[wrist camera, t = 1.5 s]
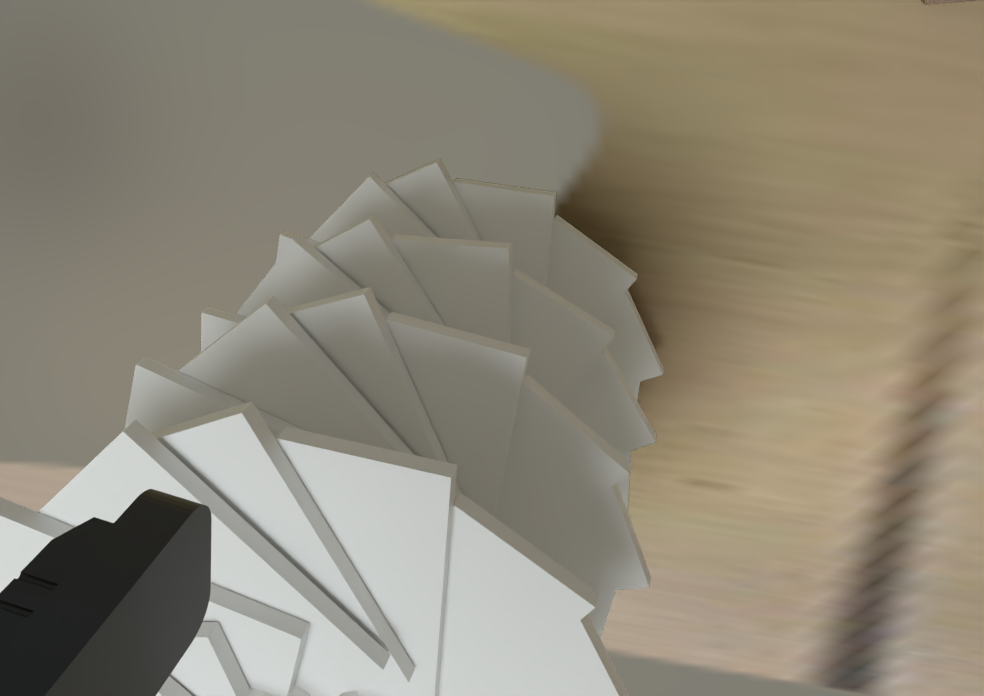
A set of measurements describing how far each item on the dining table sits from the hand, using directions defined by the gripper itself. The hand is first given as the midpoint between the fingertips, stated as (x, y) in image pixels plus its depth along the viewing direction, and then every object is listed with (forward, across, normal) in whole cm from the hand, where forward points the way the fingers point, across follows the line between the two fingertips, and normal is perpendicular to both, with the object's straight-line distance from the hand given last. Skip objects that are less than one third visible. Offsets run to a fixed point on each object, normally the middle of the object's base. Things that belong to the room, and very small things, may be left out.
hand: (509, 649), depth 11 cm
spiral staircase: (+29, +6, +13) cm, 32 cm away
